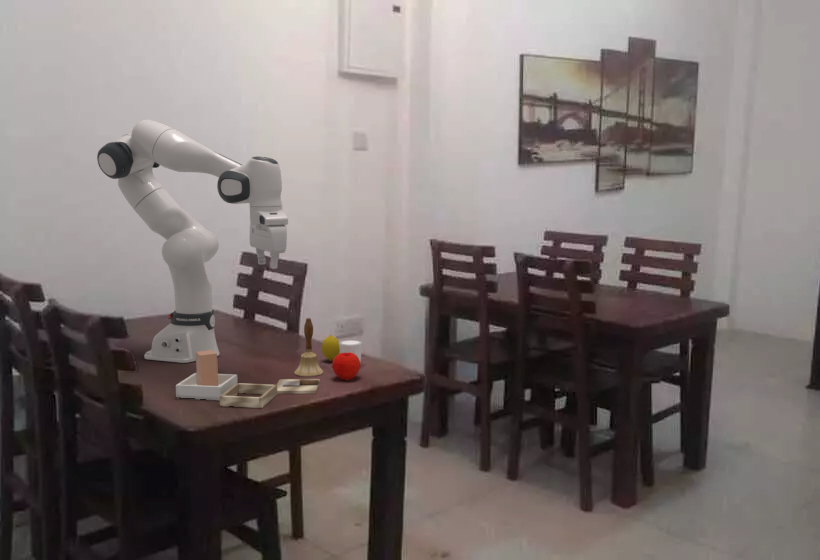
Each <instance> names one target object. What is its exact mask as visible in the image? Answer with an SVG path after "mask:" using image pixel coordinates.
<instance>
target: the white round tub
mask: <svg viewBox="0 0 820 560" xmlns="http://www.w3.org/2000/svg"><path fill="white" fill-rule="evenodd" d="M339 348H340V353H353V354H355V355H356V356H357V357H358V358H359V360H360V366H361V365H362V351H363V342H362V341H361V340H355V339H350V340H348V339H347V340H346V339H345V340H342V341H339ZM340 353H339V354H340Z"/></svg>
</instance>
